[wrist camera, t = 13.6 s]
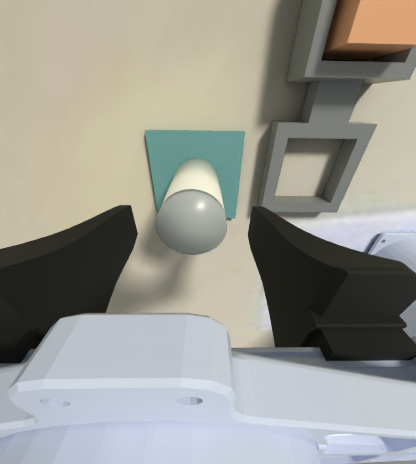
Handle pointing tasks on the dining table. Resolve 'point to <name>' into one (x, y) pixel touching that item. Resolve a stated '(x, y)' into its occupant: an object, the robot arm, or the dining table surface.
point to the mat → (196, 146)
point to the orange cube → (370, 29)
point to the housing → (326, 109)
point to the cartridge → (193, 209)
